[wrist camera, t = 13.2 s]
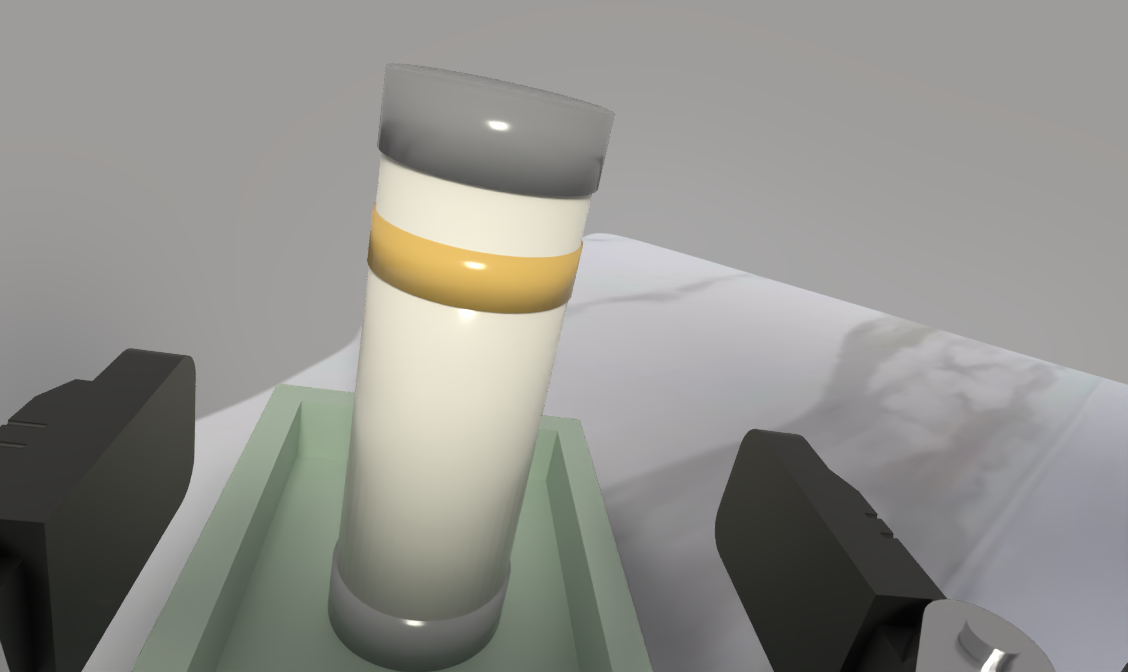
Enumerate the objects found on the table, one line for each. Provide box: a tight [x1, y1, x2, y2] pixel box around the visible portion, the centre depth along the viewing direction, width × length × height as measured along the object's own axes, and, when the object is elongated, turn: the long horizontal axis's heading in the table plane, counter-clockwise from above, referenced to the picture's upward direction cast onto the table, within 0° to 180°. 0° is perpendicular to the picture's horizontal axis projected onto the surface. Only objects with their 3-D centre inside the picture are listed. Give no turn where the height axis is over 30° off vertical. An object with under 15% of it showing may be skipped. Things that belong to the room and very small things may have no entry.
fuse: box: [328, 64, 615, 672], centre depth 18 cm, size 5×5×14 cm
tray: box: [131, 384, 653, 672], centre depth 20 cm, size 11×15×3 cm
